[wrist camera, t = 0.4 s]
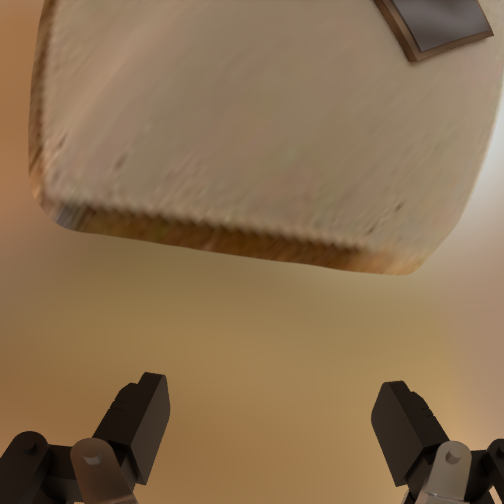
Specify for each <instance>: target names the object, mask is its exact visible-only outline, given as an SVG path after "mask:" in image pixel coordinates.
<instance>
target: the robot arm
mask: <svg viewBox="0 0 504 504" xmlns="http://www.w3.org/2000/svg"><path fill="white" fill-rule="evenodd" d="M169 416H170V401H169V394H168V387H167V380H166V376H165V375H161V374H155V373H149V372H145V373H144V374H143V375H142V377H141V379H140V381H139V382H138V384H135V383H129V384H128V385H126V386H125V387H124V388H122V389H121V390H120V391H119V393H118V395H117V396H116V398H115V401H113V403H112V405H111V406H110V409H108V411H107V413H106V414H105V416H104V418H103V419H102V421H101V423H100V425H99V426H98V428H97V430H96V431H95V433H94V435H93V436H92V438H86V439H82V440H80V441H78V442H77V443H75V445H74V446H72V447H68V446H59V445H50V444H48V443H47V441H46V439H45V438H44V437H43V436H42V435H41V434H39V433H37V432H33V431H26V432H22V433H20V434H18V435H17V436H16V437H15V438H14V439H13V441H12V442H11V444H10V445H9V446H8V448H7V449H6V451H5V452H4V454H3V455H2V457H1V458H0V504H74V502H83V503H84V504H138V502H137V500H136V498H135V496H134V494H133V489H134V487H135V483H138V484H143V485H146V483H147V481H148V478H149V475H150V472H151V469H152V466H153V463H154V460H155V457H156V454H157V452H158V448H159V445H160V443H161V440H162V437H163V434H164V432H165V428H166V426H167V423H168V420H169ZM371 423H372V426H373V429H374V431H375V434H376V436H377V439H378V441H379V444H380V446H381V449H382V451H383V454H384V457H385V459H386V461H387V464H388V467H389V469H390V472H391V474H392V477H393V480H394V482H395V486H396V487H398V486H402V485H406V484H407V485H408V487H409V489H408V490H407V492H406V493H405V496H404V498H403V500H402V502H401V504H495V503H494V501H493V499H492V496H491V494H490V492H489V490H490V489H491V488H492V486H494V487H495V489H496V491H497V493H498V495H499V497H500V499H501V501H502V504H504V439H496V440H494V441H493V442H492V443H491V444H490V446H489V447H488V448H487V450H476V451H470V450H469V448H468V447H467V446H466V445H464V444H463V443H461V442H458V441H450V440H449V438H448V437H447V435H446V433H445V432H444V430H443V428H442V427H441V425H440V424H439V422H438V421H437V419H436V417H435V416H433V413H432V411H431V410H430V409H429V407H428V405H427V404H426V402H425V401H424V399H423V398H422V397H420V396H419V395H418V394H417V393H415V392H410V390H409V388H408V387H407V385H406V384H405V383H404V381H393V382H385V383H383V384H382V386H381V389H380V392H379V394H378V397H377V400H376V403H375V405H374V408H373V410H372V414H371Z"/></svg>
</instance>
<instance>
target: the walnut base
mask: <svg viewBox="0 0 504 504" xmlns="http://www.w3.org/2000/svg"><path fill="white" fill-rule="evenodd" d="M374 2H375V3H376V5H377V6H378V8H379V9H380V11H381V12H382V14H383V16H384V17H385V19H386V21H387V22H388V24H389V25H390V27H391V29H392V31H393V32H394V34H395V36H396V38H397V39H398V41H399V43H400V45H401V47H402V49H403V51H404V52H405V54H406V56H407V58H408V60H409V61H419V60H422V59H424V58H427V57H430V56H432V55H435V54H438V53H441V52H443V51H446V50H449V49H452V48H455V47H458V46H461V45H464V44H467V43H471V42H474V41H477V40H481V39H484V38H487V37H491V36H494V34H493V31H492V29H491V27H490V25H489V23H488V20H487V18H486V16H485V14H484V12H483V10H482V8H481V6H480V4H479V2H478V0H374Z"/></svg>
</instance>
